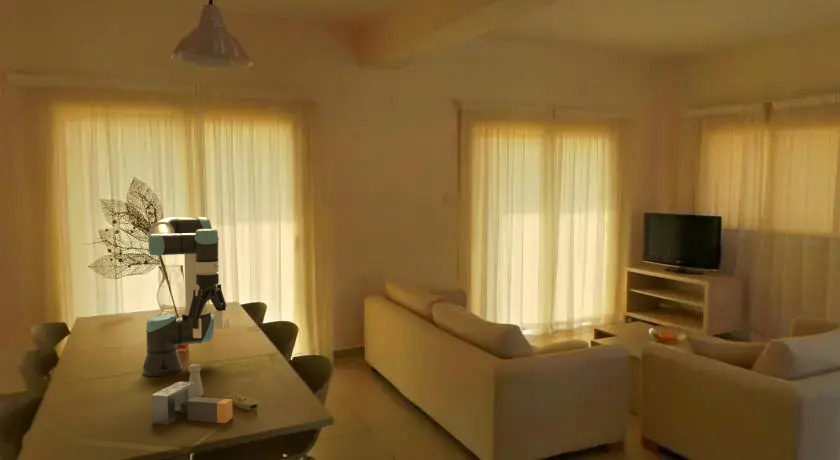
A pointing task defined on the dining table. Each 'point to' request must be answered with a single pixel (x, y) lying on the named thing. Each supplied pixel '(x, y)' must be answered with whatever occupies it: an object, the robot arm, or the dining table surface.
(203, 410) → the plug
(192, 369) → the salt shaker
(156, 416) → the block
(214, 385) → the dining table surface
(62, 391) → the dining table surface
